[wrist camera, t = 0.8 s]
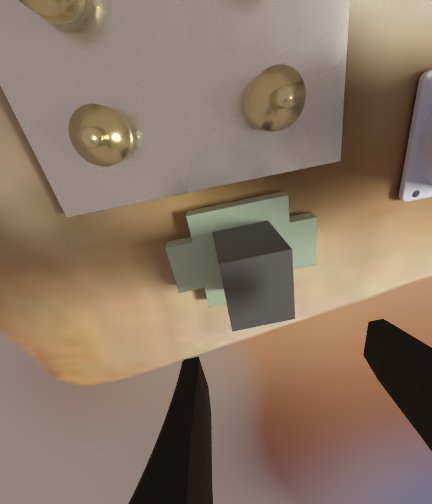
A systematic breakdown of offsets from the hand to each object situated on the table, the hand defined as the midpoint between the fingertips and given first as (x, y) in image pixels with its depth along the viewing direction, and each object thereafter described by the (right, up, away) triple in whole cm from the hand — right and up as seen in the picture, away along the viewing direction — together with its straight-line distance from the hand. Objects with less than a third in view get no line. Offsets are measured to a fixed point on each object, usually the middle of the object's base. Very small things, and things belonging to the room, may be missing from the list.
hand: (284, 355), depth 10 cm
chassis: (-5, +15, +3) cm, 16 cm away
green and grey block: (-1, +5, +9) cm, 10 cm away
